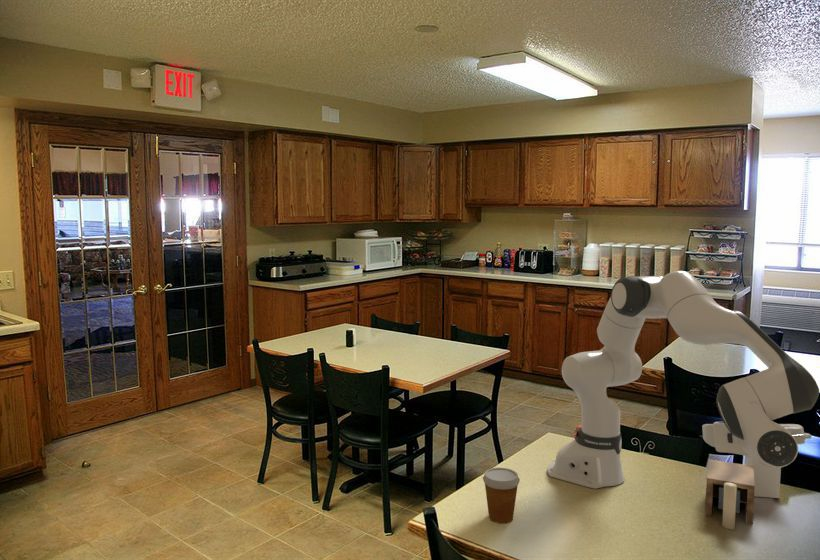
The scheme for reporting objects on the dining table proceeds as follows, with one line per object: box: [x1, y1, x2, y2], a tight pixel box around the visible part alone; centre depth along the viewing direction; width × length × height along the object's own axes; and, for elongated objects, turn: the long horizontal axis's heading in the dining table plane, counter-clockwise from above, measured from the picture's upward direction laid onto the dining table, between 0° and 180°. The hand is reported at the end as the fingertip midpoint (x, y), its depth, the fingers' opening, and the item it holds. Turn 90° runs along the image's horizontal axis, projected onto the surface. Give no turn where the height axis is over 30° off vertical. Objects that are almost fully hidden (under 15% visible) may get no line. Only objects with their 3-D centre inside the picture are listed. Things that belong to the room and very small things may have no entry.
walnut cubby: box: [704, 458, 755, 525], centre depth 165 cm, size 11×14×10 cm
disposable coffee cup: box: [482, 467, 521, 525], centre depth 161 cm, size 10×10×12 cm
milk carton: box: [744, 456, 782, 499], centre depth 174 cm, size 7×7×19 cm
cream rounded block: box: [718, 483, 741, 530], centre depth 161 cm, size 5×16×11 cm, turn 152°
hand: (745, 429), depth 146 cm, fingers open, 8 cm apart
